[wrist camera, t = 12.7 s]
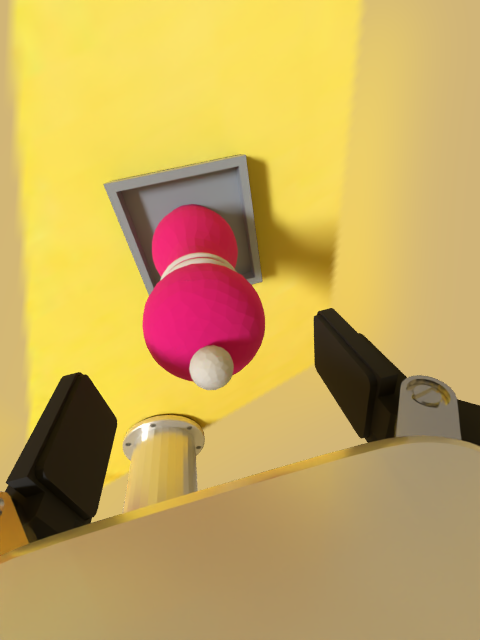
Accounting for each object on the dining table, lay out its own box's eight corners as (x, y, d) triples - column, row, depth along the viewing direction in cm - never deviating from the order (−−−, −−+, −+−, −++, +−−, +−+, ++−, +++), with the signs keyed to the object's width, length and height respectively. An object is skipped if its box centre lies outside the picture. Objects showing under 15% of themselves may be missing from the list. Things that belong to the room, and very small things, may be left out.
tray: (256, 272, 31) (262, 281, 29) (155, 296, 30) (154, 307, 28) (240, 154, 24) (245, 154, 22) (110, 181, 23) (103, 184, 21)
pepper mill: (146, 256, 27) (90, 431, 10) (169, 183, 24) (141, 263, 7) (213, 280, 29) (254, 449, 13) (241, 217, 26) (341, 333, 10)
